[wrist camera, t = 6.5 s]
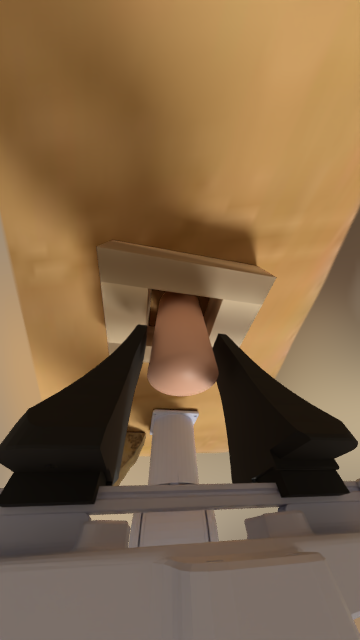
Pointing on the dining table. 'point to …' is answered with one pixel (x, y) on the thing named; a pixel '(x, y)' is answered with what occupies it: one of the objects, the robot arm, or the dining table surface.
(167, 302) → the peg
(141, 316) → the socket block
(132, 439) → the rock
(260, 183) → the dining table surface
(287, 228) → the dining table surface
